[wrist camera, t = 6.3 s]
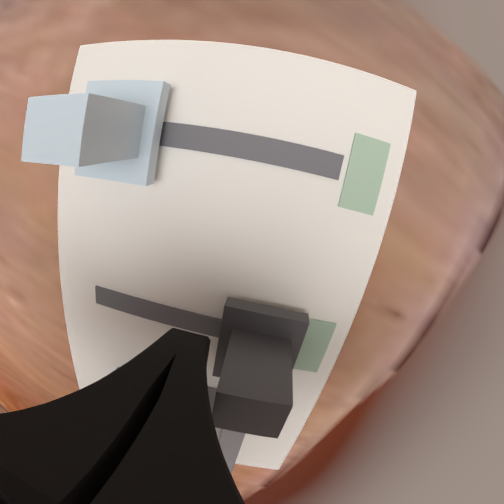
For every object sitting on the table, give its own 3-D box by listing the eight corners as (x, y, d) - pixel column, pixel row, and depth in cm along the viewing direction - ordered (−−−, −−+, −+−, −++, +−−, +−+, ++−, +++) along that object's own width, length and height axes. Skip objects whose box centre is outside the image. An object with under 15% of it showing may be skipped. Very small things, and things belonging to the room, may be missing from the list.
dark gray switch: (284, 379, 11) (283, 453, 8) (215, 366, 11) (194, 436, 8) (308, 313, 10) (317, 387, 7) (227, 296, 10) (203, 366, 7)
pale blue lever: (153, 183, 9) (90, 206, 6) (84, 173, 9) (11, 191, 6) (170, 84, 8) (111, 56, 5) (97, 83, 8) (25, 68, 5)
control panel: (279, 450, 16) (277, 488, 13) (97, 402, 16) (78, 433, 13) (400, 96, 9) (435, 84, 6) (100, 53, 9) (58, 37, 7)
